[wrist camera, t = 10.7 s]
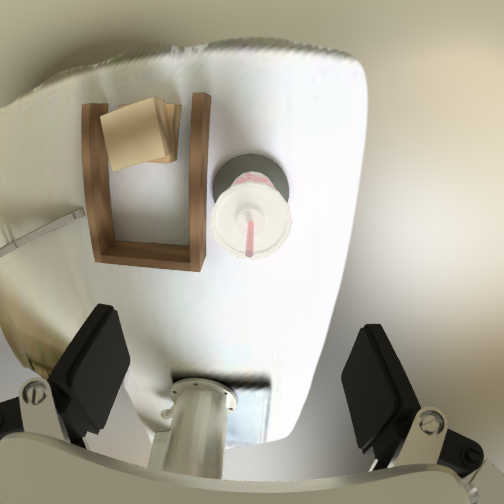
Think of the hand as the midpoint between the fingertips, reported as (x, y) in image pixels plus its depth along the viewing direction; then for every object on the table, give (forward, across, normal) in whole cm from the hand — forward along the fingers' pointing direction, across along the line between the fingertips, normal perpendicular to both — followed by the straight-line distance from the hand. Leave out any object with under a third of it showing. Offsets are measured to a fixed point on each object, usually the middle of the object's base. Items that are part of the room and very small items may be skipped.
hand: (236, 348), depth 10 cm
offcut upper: (+19, +11, -7) cm, 23 cm away
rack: (+22, +11, -2) cm, 25 cm away
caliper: (+22, +31, +5) cm, 39 cm away
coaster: (+22, 0, -1) cm, 22 cm away
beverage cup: (+21, 0, -1) cm, 21 cm away
